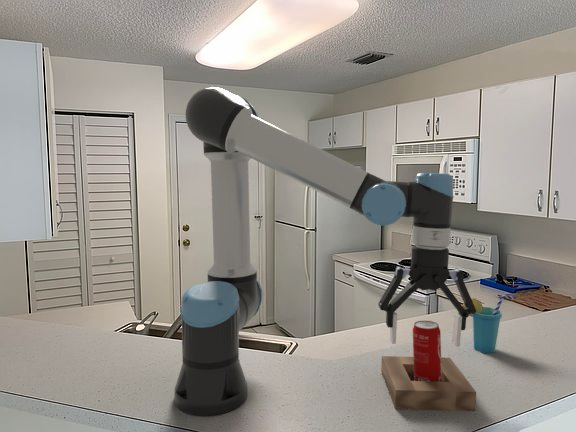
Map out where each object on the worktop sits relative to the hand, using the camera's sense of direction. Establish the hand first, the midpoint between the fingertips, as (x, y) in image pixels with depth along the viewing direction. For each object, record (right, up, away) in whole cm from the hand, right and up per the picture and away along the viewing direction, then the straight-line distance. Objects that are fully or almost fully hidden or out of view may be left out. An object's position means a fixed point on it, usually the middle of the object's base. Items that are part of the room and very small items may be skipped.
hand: (424, 342), depth 95 cm
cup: (+24, -9, +23) cm, 35 cm away
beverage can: (+1, -11, +1) cm, 11 cm away
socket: (0, -11, +1) cm, 11 cm away
